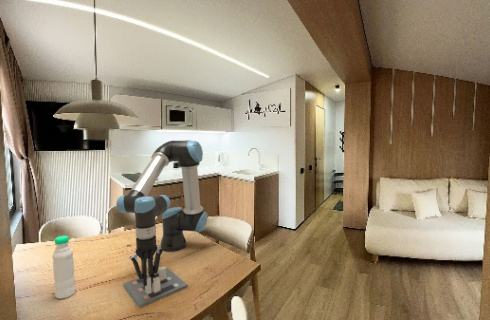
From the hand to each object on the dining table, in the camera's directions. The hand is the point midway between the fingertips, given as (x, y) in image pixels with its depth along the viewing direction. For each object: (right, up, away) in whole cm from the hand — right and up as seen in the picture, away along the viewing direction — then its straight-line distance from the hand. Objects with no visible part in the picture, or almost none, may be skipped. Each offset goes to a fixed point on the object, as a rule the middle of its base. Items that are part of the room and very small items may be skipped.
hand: (148, 291), depth 105 cm
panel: (0, -2, +9) cm, 9 cm away
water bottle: (-36, -3, +4) cm, 37 cm away
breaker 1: (-2, 0, +17) cm, 17 cm away
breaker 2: (+2, -1, +11) cm, 12 cm away
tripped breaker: (+3, -2, +2) cm, 4 cm away
